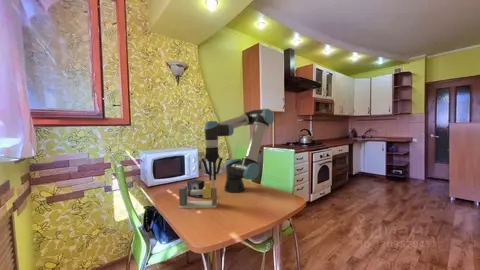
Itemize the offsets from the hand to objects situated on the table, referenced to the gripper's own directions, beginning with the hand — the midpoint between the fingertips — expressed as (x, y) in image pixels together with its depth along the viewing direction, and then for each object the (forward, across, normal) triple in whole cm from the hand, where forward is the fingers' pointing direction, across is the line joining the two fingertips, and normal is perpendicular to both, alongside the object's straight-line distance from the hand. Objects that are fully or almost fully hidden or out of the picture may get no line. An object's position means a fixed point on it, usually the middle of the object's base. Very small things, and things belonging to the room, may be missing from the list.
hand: (212, 185), depth 123 cm
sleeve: (+7, +3, 0) cm, 7 cm away
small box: (+12, +15, -17) cm, 26 cm away
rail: (+12, +9, 0) cm, 15 cm away
